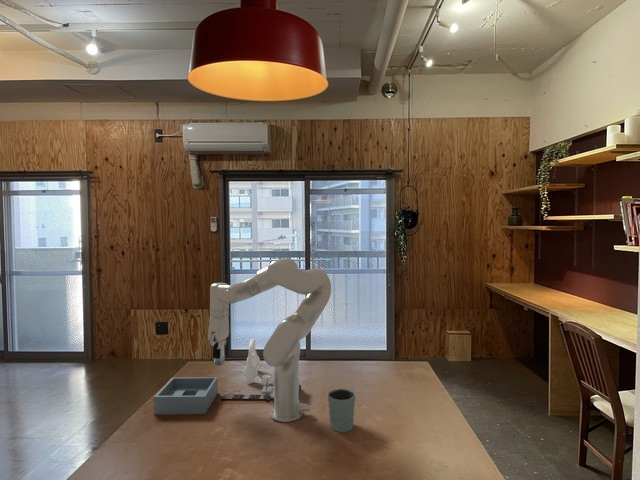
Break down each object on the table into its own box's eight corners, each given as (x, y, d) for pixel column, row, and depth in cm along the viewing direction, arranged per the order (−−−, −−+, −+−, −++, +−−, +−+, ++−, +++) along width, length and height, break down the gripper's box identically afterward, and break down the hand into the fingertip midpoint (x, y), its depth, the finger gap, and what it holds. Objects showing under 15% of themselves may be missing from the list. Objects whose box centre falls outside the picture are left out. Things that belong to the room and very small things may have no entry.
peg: (225, 362, 170) (226, 339, 169) (221, 365, 166) (221, 341, 165) (217, 361, 170) (217, 338, 170) (212, 364, 167) (212, 341, 166)
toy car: (257, 378, 170) (261, 368, 181) (257, 401, 170) (261, 389, 182) (299, 378, 170) (301, 368, 181) (299, 401, 170) (301, 390, 181)
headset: (257, 384, 187) (257, 346, 187) (242, 385, 187) (241, 347, 186) (260, 369, 207) (260, 335, 207) (246, 369, 207) (246, 335, 206)
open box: (217, 392, 178) (217, 377, 178) (205, 414, 158) (205, 396, 158) (172, 393, 178) (172, 377, 178) (154, 414, 158) (153, 396, 158)
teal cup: (332, 434, 142) (332, 401, 142) (324, 421, 152) (324, 390, 152) (359, 430, 145) (359, 398, 145) (349, 417, 155) (349, 387, 154)
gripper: (221, 308, 176) (220, 349, 177) (200, 316, 160) (200, 362, 161) (236, 309, 174) (236, 350, 175) (217, 318, 158) (217, 363, 159)
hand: (219, 355), depth 168 cm, fingers closed on peg, 4 cm apart
